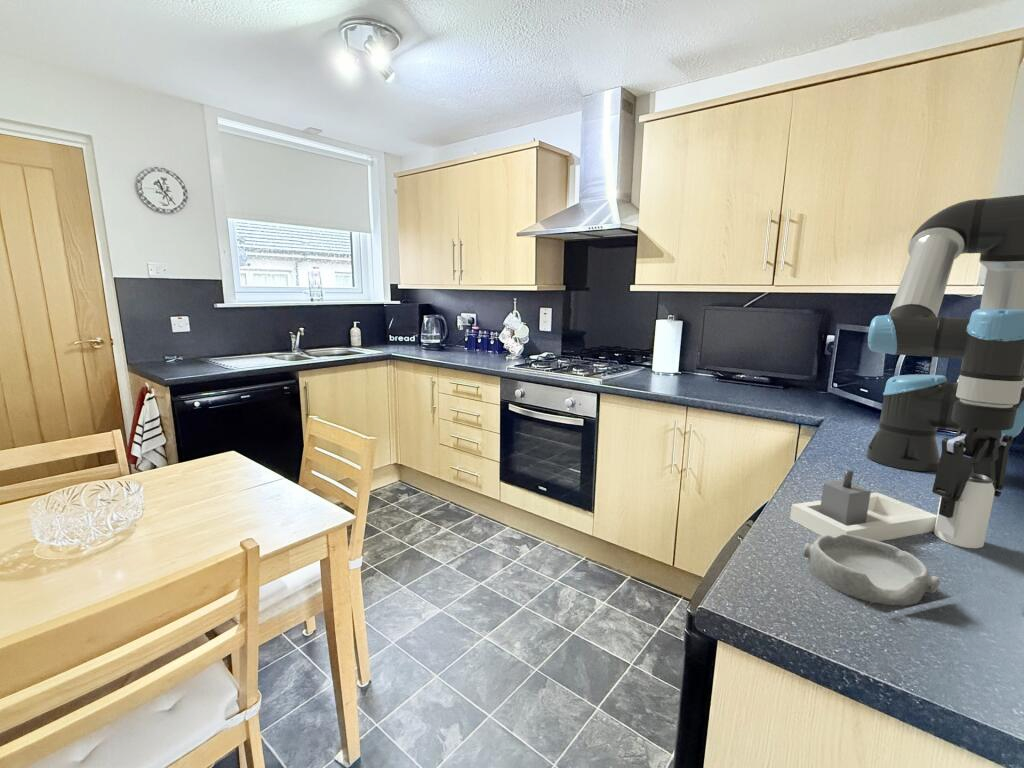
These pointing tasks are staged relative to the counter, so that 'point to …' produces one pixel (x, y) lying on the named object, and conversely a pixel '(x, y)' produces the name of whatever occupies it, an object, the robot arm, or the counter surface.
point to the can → (972, 513)
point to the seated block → (845, 501)
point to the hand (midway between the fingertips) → (959, 530)
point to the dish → (869, 569)
